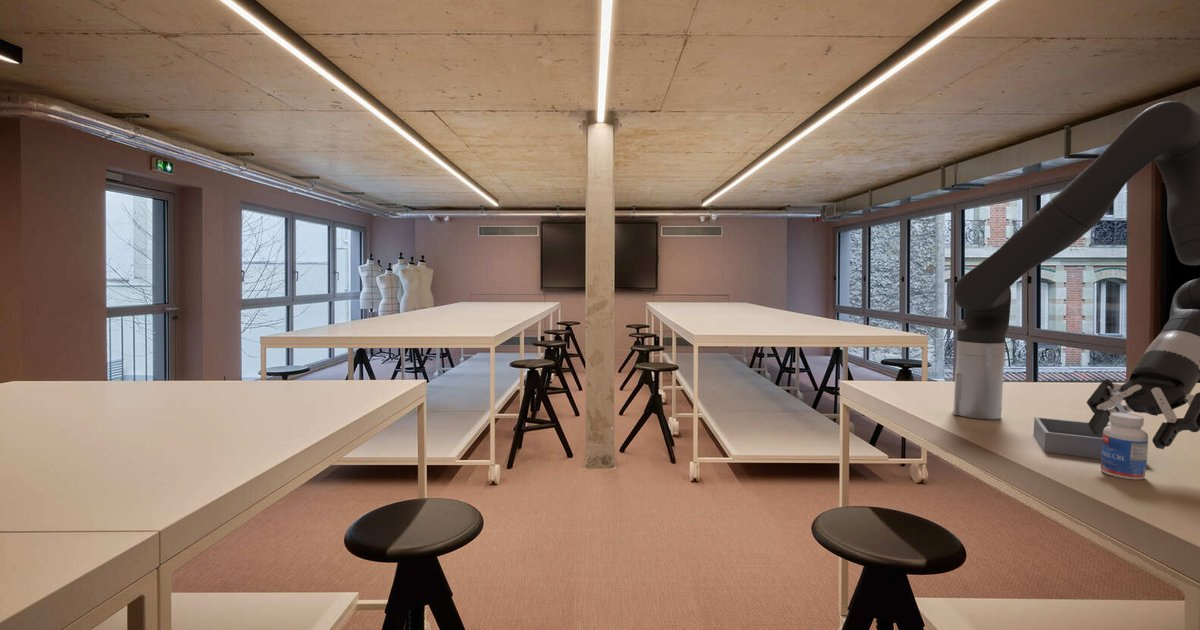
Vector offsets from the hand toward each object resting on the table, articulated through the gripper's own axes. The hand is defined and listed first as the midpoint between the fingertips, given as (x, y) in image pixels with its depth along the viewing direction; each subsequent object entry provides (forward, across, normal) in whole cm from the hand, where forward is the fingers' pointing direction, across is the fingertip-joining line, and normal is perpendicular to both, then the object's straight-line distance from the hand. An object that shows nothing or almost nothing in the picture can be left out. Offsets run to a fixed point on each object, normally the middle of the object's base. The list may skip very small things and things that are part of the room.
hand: (1124, 438), depth 93 cm
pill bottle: (+4, 0, +5) cm, 6 cm away
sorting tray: (-4, -12, +12) cm, 17 cm away
